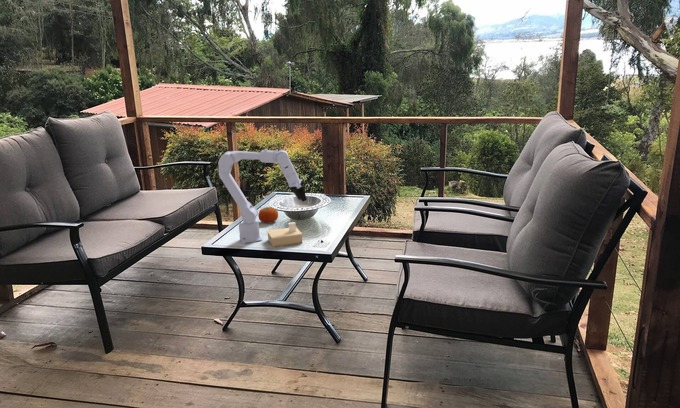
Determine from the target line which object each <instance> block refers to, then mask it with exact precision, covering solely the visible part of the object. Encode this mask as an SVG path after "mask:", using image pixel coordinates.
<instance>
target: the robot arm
mask: <svg viewBox="0 0 680 408" xmlns="http://www.w3.org/2000/svg"><path fill="white" fill-rule="evenodd" d="M241 160H259V161H260V162H261V163H269V164H270V163H271V164H276V163H277V164H279V166H280V169H281V172H282V173H283V176H284V177H285V180H286V182H287V184H288V187H289V191H291V192H292V193H293V194H294V195H295V197H296V198H297V199H298V201H300V200H301V202H305V201H307V195H306V190H305V189H306V188H305V185H301V183H302V181H303V178H301V179H300V178H299V177H300V176H299V175H298V173H297V171H296V169H295V166H294V165H293V163H292V160H291V159H290V157H289V153H288V152H287V151H286V150H284V149H280V150H278V149H275V150H269V149H268V148H265V149H262V150H260V151H258V152H257V151H256V152H255V151H245V150H243V151H242V150H230V151H229V150H227V151H225V152H224V153H223V154H222V155H221V156H220V157H219V160H218V163H217V164H218V177H219V178H220V179H221V182H222V183H223V185H224V186H225V187H226V189H227V191H228V193H229V194H230V195H231V197H232V199H233V200H234V201H235V203H236V205H237V206H238V208H239V212H240V214H241V217H242V218H241V219H242V222H241V223H239V224H238V229H239V232H238V233H239V239H240V241H241V244H246V243H256V242H260V241H262V237H261V235H260V225H259V224H260V223H259V220H258V219H259V218H257V217H258V214H259V211H258V209H257V208H256V207H255V206H253V204H251V202H250V201H248V200H247V198H246V196H245V195H244V193H243V191H242V190H241V188H240V187H239V185H238V183H237V182H236V180H235V178H234V177H233V175H232V174H231V172H232V168H233V166H234V165H235V163H238V162H240V161H241Z"/></svg>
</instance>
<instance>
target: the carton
mask: <svg viewBox="0 0 680 408" xmlns="http://www.w3.org/2000/svg"><path fill="white" fill-rule="evenodd" d="M267 240H268V241H269V244H270V245H271V246H273V247H274V248H280V247H286V246H293V245H298V244H299V245H300V244H303V234H302V235H299V236H292V237H285V238H279V239H271V237H270V236H269V234H268V233H267ZM273 247H272V248H273Z"/></svg>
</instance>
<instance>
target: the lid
mask: <svg viewBox="0 0 680 408" xmlns="http://www.w3.org/2000/svg"><path fill="white" fill-rule="evenodd" d="M266 232H267V235H268V234H269V236H270V237H271V239H279V238H285V237H292V236H299V235H302V236H303V232H301V231H300V228H298V227H297V225H296V222H295V221H292V222H288V227H284V228H278V229H271V230H267V231H266Z"/></svg>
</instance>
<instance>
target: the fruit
mask: <svg viewBox="0 0 680 408" xmlns="http://www.w3.org/2000/svg"><path fill="white" fill-rule="evenodd" d="M272 207H273V206H267V207H266V206H265V207H263V208H261V209H260V210H259V211H258V214H257V217H258V219H259V220H258V221H260V222H262V223H264V224H270V223H273V222H275V221H277V220H278V218H279V211H278V209H276V208H275V209H276V210H275V209H273V208H274V207H273V208H272Z"/></svg>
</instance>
